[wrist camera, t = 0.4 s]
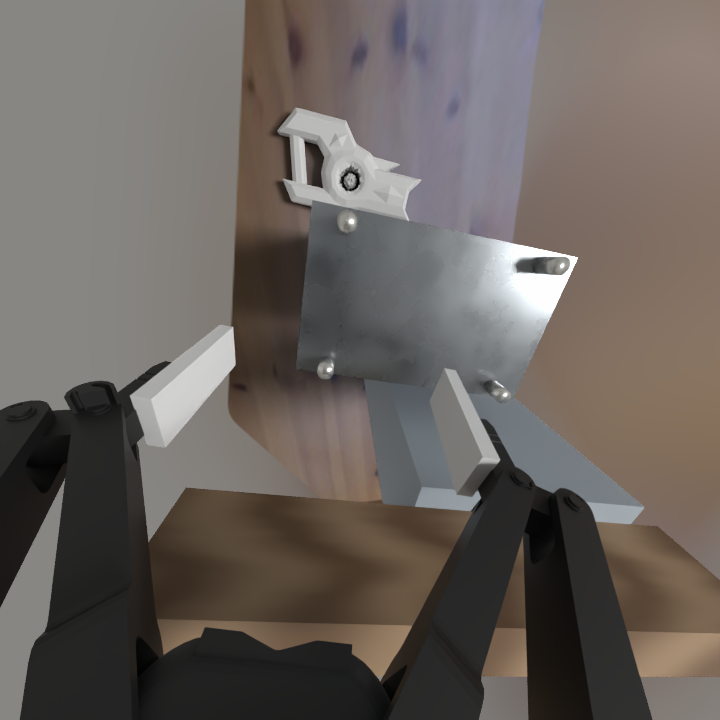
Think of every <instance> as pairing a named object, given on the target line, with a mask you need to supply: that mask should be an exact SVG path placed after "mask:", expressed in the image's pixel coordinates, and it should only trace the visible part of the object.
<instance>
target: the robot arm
mask: <svg viewBox="0 0 720 720" xmlns="http://www.w3.org/2000/svg"><path fill="white" fill-rule="evenodd" d="M235 365H236V362H235V347H234V332H233V327H231V326H226V325H221V324H220V325H219V326H217V327H216V328H215V329H214V330H212V331H211V332H210V333H209V334H207V335H206V336H205V337H203V338H202V339H201V340H200V341H198V342H197V343H196V344H195V345H193V346H192V347H191V348H190V349H188V350H187V351H186V352H185V353H183V354H182V355H181V356H180V357H178V358H177V359H176V360H174V361H173V362H167V361H165V362H162V363H160V364H158V365H155V366H153V367H152V368H150V369H149V370H148V371H146V372H145V374H142V375H141V376H140V377H138V379H135V380H134V381H133V382H131V383H130V384H129V385H127V386H126V387H125V388H123V389H122V390H121V391H119V392H118V393H117V390H116V388H115V386H114V384H113V383H110V382H107V381H94V382H89V383H84V384H81V385H79V386H76V387H74V388H72V389H71V390H70V391H68V392H67V393H66V395H65V397H64V398H65V400H66V402H67V404H68V406H69V407H70V409H71V410H56V411H52V410H51V408H50V406H49V405H48V404H47V403H46V402H43V401H27V402H21V403H17V404H14V405H11V406H8V407H6V408H4V409H2V410H0V607H1V605H2V603H3V601H4V599H5V597H6V595H7V593H8V591H9V589H10V587H11V585H12V583H13V581H14V579H15V577H16V575H17V573H18V571H19V569H20V567H21V565H22V563H23V561H24V559H25V557H26V555H27V553H28V551H29V549H30V547H31V545H32V543H33V541H34V539H35V537H36V535H37V533H38V531H39V529H40V527H41V525H42V523H43V521H44V519H45V517H46V515H47V513H48V511H49V509H50V507H51V505H52V503H53V501H54V499H55V497H56V495H57V493H58V491H59V489H60V487H61V485H62V483H63V481H64V479H65V486H64V494H63V503H62V510H61V519H60V527H59V536H58V543H57V551H56V561H55V568H54V576H53V584H52V593H51V601H50V610H49V617H48V623H47V627H46V630H45V632H44V633H43V634H42V635H41V636H40V637H39V638H38V639H37V640H36V641H35V643H34V645H33V647H32V650H31V654H30V658H29V662H28V669H27V675H26V682H25V689H24V696H23V702H22V709H21V716H20V720H479V716H480V712H481V708H482V704H483V699H484V688H483V685H482V682H481V675H482V671H483V667H484V664H485V661H486V657H487V654H488V651H489V647H490V644H491V641H492V637H493V634H494V631H495V627H496V624H497V621H498V617H499V614H500V611H501V607H502V604H503V601H504V597H505V594H506V591H507V587H508V584H509V581H510V577H511V574H512V571H513V567H514V564H515V561H516V557H517V554H518V551H519V547H520V544H521V541H522V537H523V552H524V584H525V617H526V650H527V682H528V715H529V720H652V717H651V713H650V710H649V706H648V703H647V699H646V696H645V692H644V689H643V685H642V682H641V678H640V675H639V671H638V668H637V664H636V661H635V657H634V654H633V650H632V647H631V643H630V640H629V637H628V633H627V630H626V626H625V623H624V619H623V616H622V612H621V609H620V605H619V602H618V598H617V595H616V591H615V588H614V584H613V581H612V577H611V574H610V570H609V567H608V563H607V560H606V556H605V553H604V549H603V546H602V542H601V539H600V535H599V532H598V528H597V525H596V521H595V518H594V514H593V512H592V510H591V508H590V506H589V505H588V504H587V503H586V501H585V500H584V499H583V498H581V497H580V496H579V495H578V494H576V493H574V492H573V491H571V490H568V489H566V488H559V489H558V490H556V491H555V492H554V493H552V492H549V491H547V490H545V489H543V488H540V487H538V486H536V485H535V483H534V481H533V480H532V478H531V477H530V476H529V475H528V474H527V473H525V472H524V471H523V470H521V469H519V468H517V467H515V465H514V463H513V461H512V460H511V458H510V456H509V454H508V452H507V450H506V449H505V447H504V445H503V444H502V441H501V439H500V437H498V434H497V432H496V430H495V428H494V427H493V426H492V425H491V424H490V423H489V422H488V421H487V420H486V419H481V418H479V416H478V414H477V412H476V410H475V408H474V406H473V404H472V402H471V400H470V398H469V396H468V394H467V392H466V390H465V388H464V386H463V384H462V382H461V380H460V378H459V376H458V374H457V372H456V370H451V369H446V368H444V370H443V372H442V374H441V376H440V379H439V381H438V383H437V385H436V388H435V390H434V392H433V394H432V397H431V399H430V404H431V408H432V411H433V415H434V418H435V422H436V425H437V429H438V432H439V436H440V439H441V443H442V446H443V450H444V453H445V457H446V460H447V464H448V467H449V471H450V474H451V478H452V481H453V485H454V488H455V492H456V495H461V496H467V497H473V495H474V494H475V493H476V491H477V490H478V491H479V494H480V497H481V499H480V500H479V501H478V502H477V504H476V505H475V506H474V507H473V509H472V510H471V512H472V514H471V516H470V518H469V520H468V522H467V523H466V525H465V527H464V529H463V531H462V533H461V535H460V537H459V539H458V541H457V542H456V544H455V546H454V548H453V550H452V552H451V554H450V556H449V558H448V559H447V561H446V563H445V565H444V567H443V569H442V571H441V573H440V575H439V577H438V578H437V580H436V582H435V584H434V586H433V588H432V590H431V592H430V594H429V596H428V597H427V599H426V601H425V603H424V605H423V607H422V609H421V611H420V613H419V615H418V616H417V618H416V620H415V622H414V624H413V626H412V628H411V630H410V632H409V633H408V635H407V637H406V639H405V641H404V643H403V645H402V646H401V648H400V650H399V651H398V653H397V654H396V656H395V657H394V659H393V660H392V662H391V663H390V665H389V667H388V669H387V670H386V672H385V674H384V676H383V678H382V680H381V681H379V679H378V678H377V677H376V675H375V674H374V673H373V671H372V670H371V669H370V668H369V667H368V666H367V665H366V664H365V663H364V662H363V661H362V660H360V659H359V658H358V657H356V656H355V655H353V654H352V644H345V643H336V642H328V641H319V640H316V641H313V642H309V643H305V644H301V645H297V646H293V647H290V648H286V649H282V650H275V649H273V648H271V647H269V646H267V645H265V644H264V643H262V642H260V641H258V640H256V639H255V638H253V637H251V636H249V635H248V634H246V633H244V632H242V631H234V630H226V629H217V628H209V627H205V628H204V631H203V633H202V636H201V637H199V638H195V639H192V640H190V641H187V642H185V643H183V644H181V645H179V646H177V647H175V648H174V649H172V650H170V651H169V652H167V653H166V654H165V655H164V654H163V646H162V639H161V634H160V630H159V627H158V623H157V618H156V611H155V602H154V592H153V583H152V573H151V564H150V554H149V544H148V535H147V526H146V516H145V506H144V497H143V488H142V477H141V468H140V458H139V449H138V445H137V442H138V441H139V440H140V439H141V438H142V437H143V436H144V437H145V440H146V443H147V445H152V446H159V447H164V448H165V447H166V446H167V445H168V444H169V443H170V442H171V441H172V439H173V438H174V437H175V436H176V435H177V433H178V432H179V431H180V430H181V429H182V428H183V426H184V425H185V424H186V423H187V422H188V421H189V419H190V418H191V417H192V416H193V415H194V413H195V412H196V411H197V410H198V409H199V407H200V406H201V405H202V404H203V403H204V402H205V401H206V399H207V398H208V397H209V396H210V394H211V393H212V392H213V391H214V390H215V389H216V387H217V386H218V385H219V384H220V383H221V382H222V380H223V379H224V378H225V377H226V376H227V375H228V373H229V372H230V371H231V370H232V369H233V368H234V366H235Z"/></svg>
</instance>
